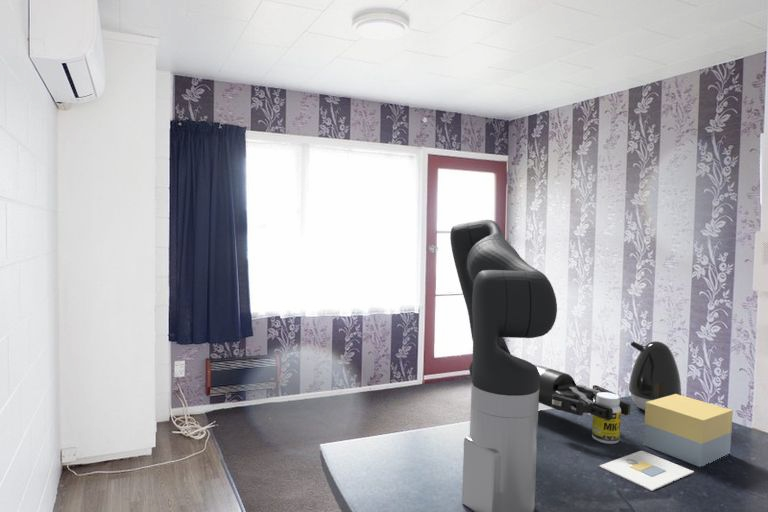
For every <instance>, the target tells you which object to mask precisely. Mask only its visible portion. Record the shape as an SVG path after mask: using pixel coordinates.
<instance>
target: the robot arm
mask: <svg viewBox="0 0 768 512" xmlns="http://www.w3.org/2000/svg"><path fill="white" fill-rule="evenodd" d="M449 239H450V246H451V247H450V248H451V252H452V257H453V261H454V265H455V269H456V273H457V277H458V281H459V284H460V288H461V292H462V296H463V298H464V302H465V305H466V309H467V315H468V320H469V328H470V334H471V340H472V361H471V362H470V364H469V374H470V376H471V389H470V414H469V415H470V417H469V418H470V419H469V436H466V437H464V440H463V456H462V457H463V461H462V487H461V488H462V489H461V491H462V492H461V493H462V494H461V503H462V504H464V505H465V506H466V507H468V508H469V509H470V510H472V511H473V512H534V511H535V500H536V499H535V498H536V478H537V477H536V475H537V474H536V471H537V455H538V454H537V451H538V426H539V424H538V423H539V407H540V406H539V404H541V405H544V406H547V407H549V408H552V409H554V410H557V411H561V412H566V413H569V414H573V415H576V416H579V417H580V416H583V414H585V415H587V416H593V415H595V416H597V417H600V418H603V419H605V420H612V417H613V410H612V408H610V407H607V406H604V405H601V404H599V403H597V401H596V397H597V393H599V392H608V393H613V394H616V393H615V392H613V391H610V390H609V389H606V388H604V387H602V386H599V385H595V384H594V385H592V388H590V387H587V386H586V385H582V384H576V381H575V380H574V378H573V377H572V376H571V375H570V374H569V373H565V372H562V371H558V370H556V369H553V368H549V367H546V366H543V365H538V364H533V363H532V362H530V361H528V360H525V359H523V358H520V357H518V356H515V355H512V353H511V351H510V349H509V347H508V344H507V342H506V341H505V338H513V339H516V338H517V339H523V338H524V339H532V338H533V339H534V338H539V337H543V336H545V335H546V334H549V332H550V331H551V330H552V328H553V327H554V324H555V322H556V319H557V314H558V303H557V302H558V301H557V297H556V293H555V291H554V288H553V285H552V283H551V281H550V280H549V278H548V277H547V275H546V274H544V273H543V272H542V271H540V270H538V269H537V268H536V267H533V266H531V265H530V264H528V262H526V261H525V260H524V259H523V258H522V257H521V256H520V254H519V253H518V251H517V250H516V249H515V248H514V247H513V246H512V245H511V244H510V242H508V241H507V239H506V238H505V236H504V233H503V231H502V230H501V227H500V225H499V224H498V223H497V222H496V221H494V220H492V219H481V220H477V221H470V222H466V223H460V224H455V225H453V226H452V227H451V229H450V238H449ZM618 406H619V407H620V408H621V415H624V416H628V415H631V408H632V407H631V406H632V405H631V404H630V402H628V401H624V400H621V399H620V404H619V405H618Z"/></svg>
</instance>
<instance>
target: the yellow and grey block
mask: <svg viewBox="0 0 768 512" xmlns="http://www.w3.org/2000/svg"><path fill="white" fill-rule="evenodd" d="M733 413H734V410H733V409H730V408H726V407H723V406H719V405H716V404H713V403H709V402H705V401H702V400H698V399H695V398H692V397H687V396H685V395H682V394H681V395H678V394H673V395H670V396H666V397H663V398H659V399H655V400H652V401H648V402H646V407H645V412H644V426H643V427H644V428H643V446H645V447H647V448H651V449H653V450H654V451H655V450H656V451H658V452H660V453H663V454H666V455H667V456H671V457H673V458H676V459H678V460H680V461H682V462H683V461H684V462H686V463H688V464H691V465H694V466H696V467H699V468H701V466H702V467H704V466H706V464H707V465H708V463H709V464H711V463H714V462H715V460H716V461H718V460H720V459H722V458H721V457H723V456H725V455H727V454H729V453H730V454H731V446H732V445H731V444H732V428H733V426H732V425H733ZM727 456H728V455H727ZM725 457H726V456H725ZM719 458H720V459H719ZM723 458H724V457H723ZM717 459H718V460H717ZM713 461H714V462H713Z"/></svg>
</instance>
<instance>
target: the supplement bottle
mask: <svg viewBox="0 0 768 512" xmlns="http://www.w3.org/2000/svg"><path fill="white" fill-rule="evenodd" d="M613 393H614V392H613ZM613 393H608V392H599V393H597V397H596V401H597V403H599V404H601V405H604V406H607V407H610V408H612V410H613V417H612V420H605V419H603V418H600V417H597V416H595V415H592V429H591V436H592V438H593V439H594V440H596V441H597V442H599V443H602V444H608V445H614V444H618V443H619V442H620V433H621V422H622V421H621V420H622V419H621V418H622V414H621V408H620V407H619V406H618V405H619V404H620V400H621V399H620V396H619V395H618V394H616V393H615V394H613Z"/></svg>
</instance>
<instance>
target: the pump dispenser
mask: <svg viewBox="0 0 768 512" xmlns="http://www.w3.org/2000/svg"><path fill="white" fill-rule="evenodd" d="M630 346H631V347H633V348H634V349H636V350H638V351H639V354H638V356H637V358H636V359H635V362H634V364H633V367H632V370H631V374H630V379H629V384H628V392H629V393H630V397H631V400H632V402H633V403H634V405H636V406H637V407H638V408H639V409H641V410H642V411H645V407H646V402H648V401H652V400H655V399H659V398H663V397H666V396H670V395H673V394H678V395H682V387H681V386H682V385H681V384H682V383H681V376H680V372H679V368H678V364H677V362H676V359H675V357H674V355H673V353H672V350H671V349H670V347H669V346H668V345H667V344H665V343H663V342H661V341H651V342H648V343H647V344H646V345H642V344H640V343H638V342H635V341H632V342H631V343H630Z"/></svg>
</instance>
